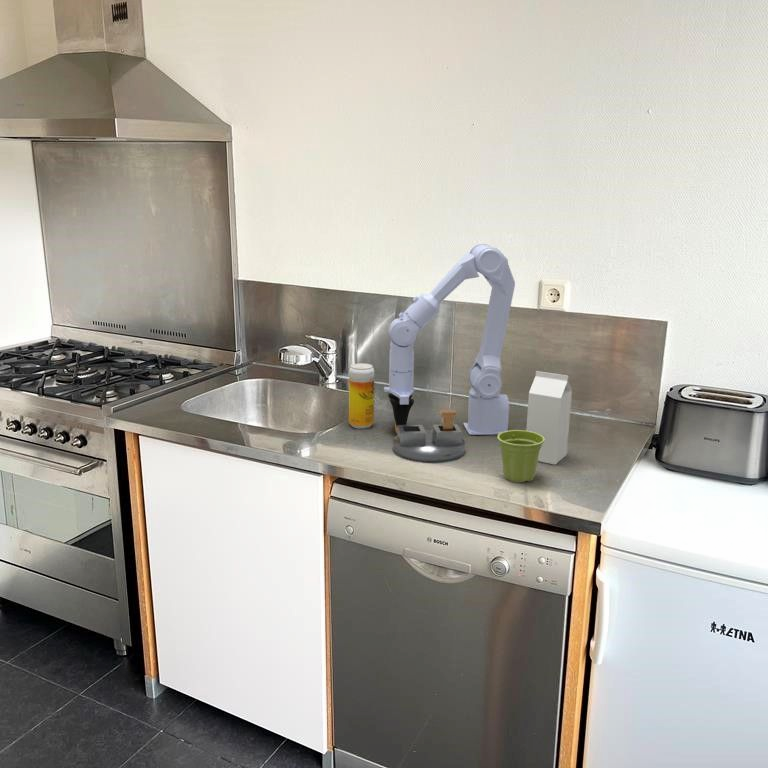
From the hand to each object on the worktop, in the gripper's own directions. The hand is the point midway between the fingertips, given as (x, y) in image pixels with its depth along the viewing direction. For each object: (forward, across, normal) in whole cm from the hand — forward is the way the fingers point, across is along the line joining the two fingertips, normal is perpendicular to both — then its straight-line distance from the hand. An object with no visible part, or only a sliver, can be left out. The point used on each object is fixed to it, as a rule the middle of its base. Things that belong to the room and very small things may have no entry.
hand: (400, 424), depth 182 cm
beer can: (+2, -5, -9) cm, 10 cm away
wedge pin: (+2, 0, 0) cm, 2 cm away
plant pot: (+2, +30, +21) cm, 37 cm away
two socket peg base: (+2, +13, +5) cm, 14 cm away
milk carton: (+2, +19, +30) cm, 36 cm away
